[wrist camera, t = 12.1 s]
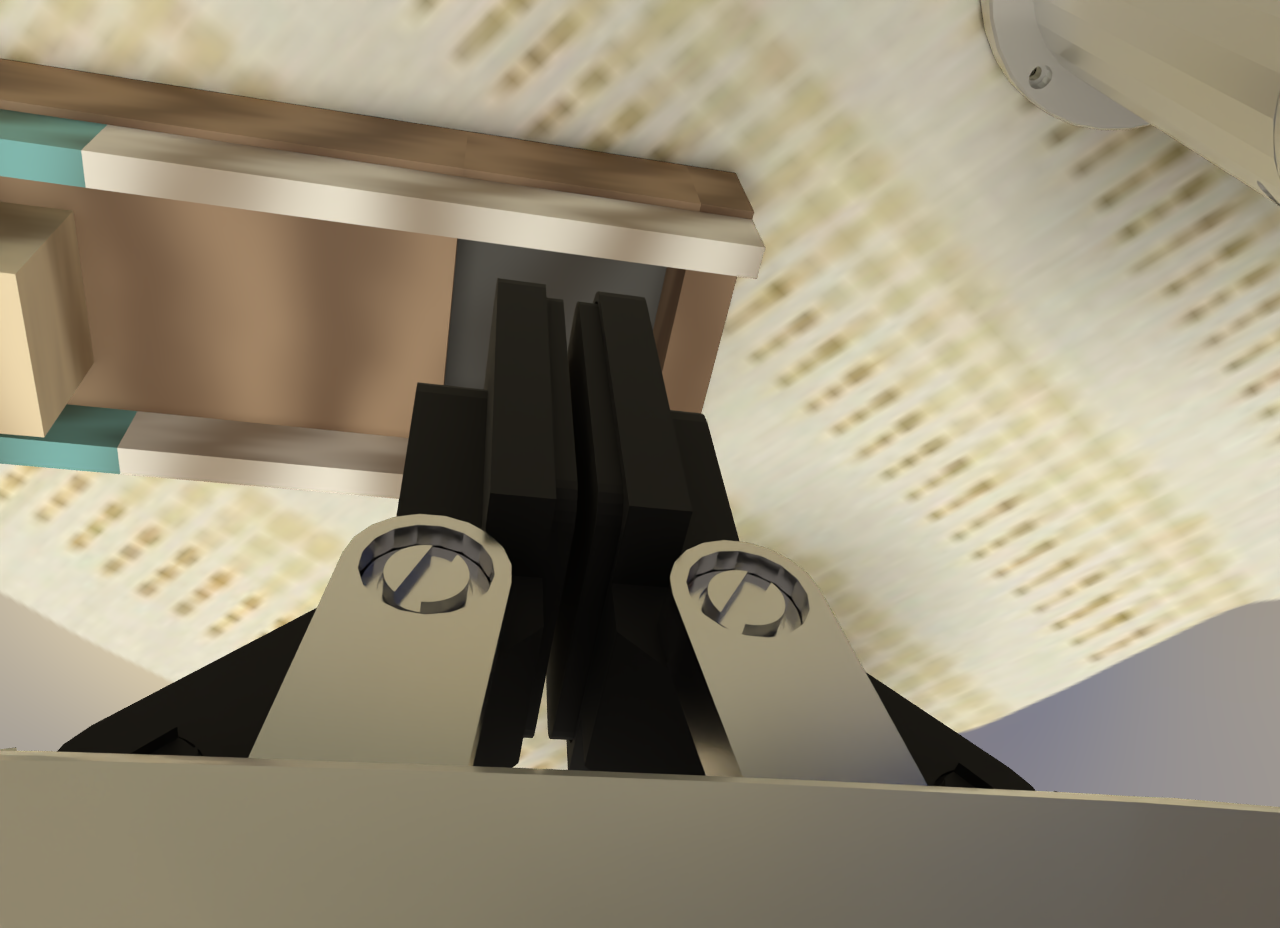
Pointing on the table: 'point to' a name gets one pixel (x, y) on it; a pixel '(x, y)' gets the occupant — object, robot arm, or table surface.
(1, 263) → the maple block
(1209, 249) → the table surface
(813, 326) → the table surface
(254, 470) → the trap deck
